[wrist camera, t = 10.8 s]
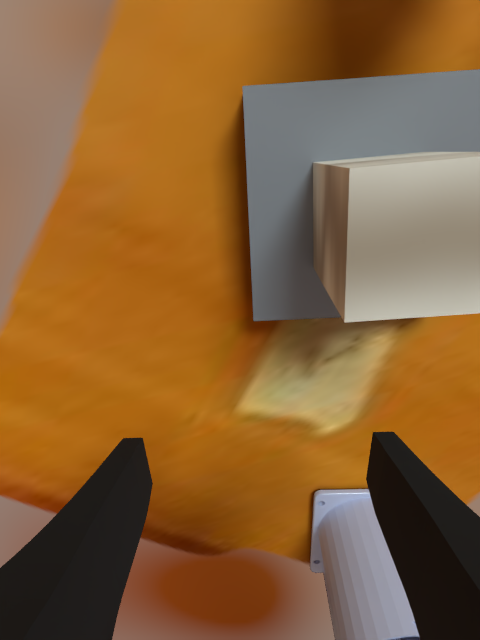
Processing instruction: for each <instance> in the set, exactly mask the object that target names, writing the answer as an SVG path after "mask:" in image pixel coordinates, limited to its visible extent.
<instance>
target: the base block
mask: <svg viewBox="0 0 480 640" xmlns="http://www.w3.org/2000/svg"><path fill="white" fill-rule="evenodd" d="M243 106H244V128H245V149H246V171H247V192H248V214H249V235H250V257H251V278H252V299H253V321H270V320H292V319H314V318H337V317H341V316H340V314H339V312H338V310H337V309H336V307H335V305H334V303H333V301H332V300H331V298H330V296H329V294H328V293H327V291H326V289H325V287H324V286H323V284H322V282H321V280H320V278H319V277H318V275H317V273H316V271H315V270H314V268H313V162H323V161H333V160H344V159H354V158H365V157H376V156H386V155H397V154H408V153H418V152H480V69H478V70H464V71H450V72H436V73H422V74H408V75H393V76H379V77H365V78H351V79H337V80H323V81H308V82H294V83H280V84H266V85H252V86H243Z"/></svg>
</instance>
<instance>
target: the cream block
mask: <svg viewBox="0 0 480 640" xmlns="http://www.w3.org/2000/svg"><path fill="white" fill-rule="evenodd" d="M313 268H314V270H315V271H316V273H317V275H318V277H319V278H320V280H321V282H322V284H323V286H324V287H325V289H326V291H327V293H328V294H329V296H330V298H331V300H332V301H333V303H334V305H335V307H336V309H337V310H338V312H339V314H340V316H341V317H342V319H343V321H344V323H345V322H360V321H374V320H388V319H403V318H417V317H431V316H446V315H460V314H474V313H480V152H418V153H408V154H397V155H386V156H376V157H365V158H354V159H344V160H333V161H323V162H313Z"/></svg>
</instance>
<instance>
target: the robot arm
mask: <svg viewBox="0 0 480 640" xmlns="http://www.w3.org/2000/svg"><path fill="white" fill-rule="evenodd" d="M366 480H367V484H368V488H369V489H341V490H318V491H316V492H315V493H314V501H313V519H312V536H311V554H310V569H311V571H312V572H315V573H323V574H324V580H325V586H326V591H327V597H328V603H329V608H330V614H331V620H332V625H333V631H334V637H335V640H480V517H479V516H478V515H477V514H476V513H474V512H473V511H472V510H471V509H470V508H469V507H468V506H467V505H466V504H465V503H463V502H462V501H461V500H460V499H459V498H458V497H457V496H456V495H455V494H454V493H453V492H452V491H451V490H450V489H449V488H448V487H447V486H446V485H445V484H444V483H443V482H442V481H441V480H440V479H439V478H437V477H436V476H435V475H434V474H433V473H432V472H431V470H430V469H429V468H428V467H427V466H426V465H425V464H424V463H423V462H422V461H421V460H420V459H419V458H418V457H417V456H416V455H415V454H414V453H413V452H412V451H411V450H410V449H409V448H408V447H407V446H406V444H405V443H404V442H403V441H402V440H401V439H400V438H399V437H398V436H397V435H396V434H395V433H394V432H373V436H372V443H371V450H370V457H369V464H368V471H367V478H366ZM151 489H152V479H151V474H150V470H149V465H148V460H147V456H146V451H145V447H144V442H143V438H123V439H122V440H121V442H120V443H119V444H118V445H117V446H116V447H115V449H114V450H113V451H112V452H111V454H110V455H109V456H108V457H107V458H106V460H105V461H104V462H103V463H102V464H101V466H100V467H99V468H98V469H97V470H96V472H95V473H94V474H93V475H92V476H91V477H90V478H89V480H88V481H87V482H86V483H85V484H84V485H83V486H82V488H81V489H80V490H79V491H78V492H77V493H76V494H75V496H74V497H73V498H72V499H71V500H70V501H69V502H68V503H67V504H66V505H65V506H64V507H63V508H62V509H61V510H60V512H59V513H58V514H57V515H56V516H55V517H54V518H53V519H52V520H51V521H50V522H49V523H48V524H47V525H46V526H45V527H44V528H43V529H42V530H41V531H40V532H39V533H38V534H37V535H36V536H35V537H34V538H33V539H32V540H31V541H30V542H29V543H28V544H26V545H25V546H24V547H23V548H22V549H21V550H20V551H19V552H18V553H17V554H16V555H15V556H14V557H12V558H11V559H10V560H9V561H8V562H7V563H6V564H4V565H3V566H2V567H1V568H0V640H112V636H113V632H114V627H115V623H116V618H117V614H118V610H119V606H120V603H121V598H122V595H123V592H124V589H125V585H126V582H127V579H128V576H129V572H130V569H131V566H132V563H133V559H134V556H135V553H136V550H137V546H138V543H139V540H140V537H141V533H142V530H143V527H144V523H145V520H146V516H147V511H148V506H149V501H150V495H151Z"/></svg>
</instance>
